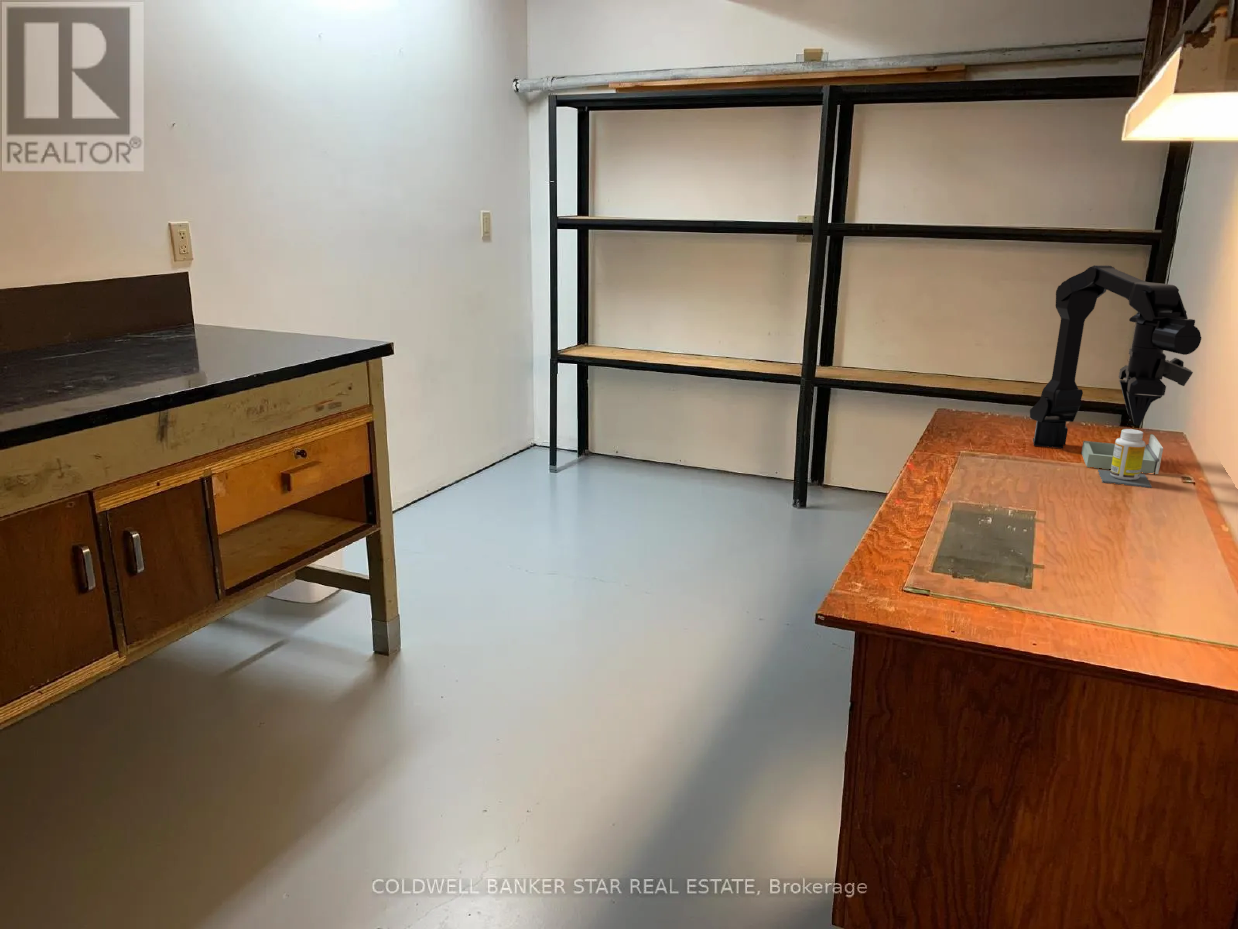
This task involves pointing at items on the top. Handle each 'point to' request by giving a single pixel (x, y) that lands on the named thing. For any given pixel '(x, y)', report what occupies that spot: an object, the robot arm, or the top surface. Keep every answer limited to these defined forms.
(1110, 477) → the mat
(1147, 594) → the top surface
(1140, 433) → the supplement bottle
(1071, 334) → the robot arm
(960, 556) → the top surface
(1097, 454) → the drawer
